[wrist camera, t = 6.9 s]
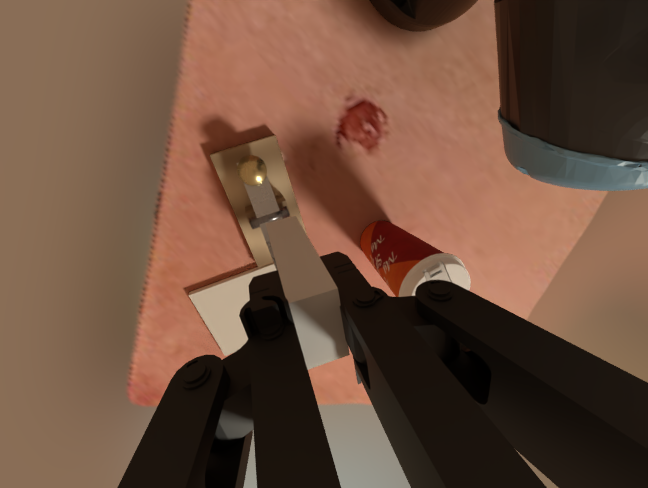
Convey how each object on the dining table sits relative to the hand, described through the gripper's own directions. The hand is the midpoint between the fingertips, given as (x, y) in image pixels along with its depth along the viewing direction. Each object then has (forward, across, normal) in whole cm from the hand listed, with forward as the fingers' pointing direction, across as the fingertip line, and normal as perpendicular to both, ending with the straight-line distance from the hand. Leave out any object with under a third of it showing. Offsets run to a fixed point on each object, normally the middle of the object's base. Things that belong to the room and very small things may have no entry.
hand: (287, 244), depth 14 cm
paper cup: (+21, +14, -13) cm, 28 cm away
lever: (+16, 0, -4) cm, 16 cm away
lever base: (+20, 0, -4) cm, 21 cm away
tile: (+20, -6, -18) cm, 27 cm away
